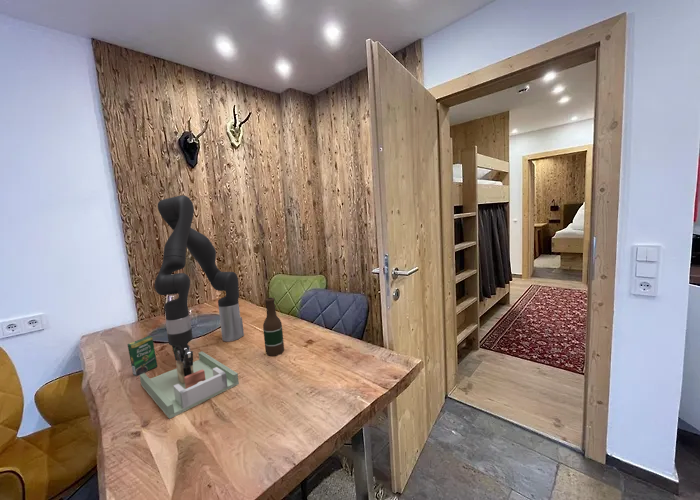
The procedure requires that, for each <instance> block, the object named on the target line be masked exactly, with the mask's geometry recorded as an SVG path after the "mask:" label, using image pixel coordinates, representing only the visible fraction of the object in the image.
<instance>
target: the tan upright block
mask: <svg viewBox="0 0 700 500" xmlns="http://www.w3.org/2000/svg"><path fill="white" fill-rule="evenodd" d="M187 363H188V362H187ZM175 364H176V368H177V374H178V380H179V381H180V382H181V383H182V384H183V383H185V388H186V389H187V388H189V387H191V386H193V385H196V384H197V383H198V382H200V381H204V380H205V372H204V370H203V369H202V370H199V371H197V372H195V373H194V372H193V365H192V366H191V373H192V374H190V375H187V376H185V377H184V370H183V365H182V362H180V360H179V361H176V360H175Z"/></svg>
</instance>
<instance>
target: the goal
mask: <svg viewBox="0 0 700 500" xmlns="http://www.w3.org/2000/svg"><path fill="white" fill-rule="evenodd" d="M226 387H228V386H227V378H226V373H225V372H224V371H222V370H221V369H219V368H217V367H216V368H213V377H211V378H209V379H207V380H204V381H202V382H200V383H198V384H196V385H193V386H191V387H189V388H187V389H184V388H183V387H182V386H181V385H179V384H176V385H174V386H173V388H174V394H175V400H176V401H177V402H178V404H179V405H180V406H181V407H182V408H183V409H184V408H186V407H188V406H190V405H192V404H194V403H196V402H198V401H200V400H202V399H204V398H206V397H208V396H210V395H212V394H214V393H216V392H218V391H220V390H222V389H224V388H226Z"/></svg>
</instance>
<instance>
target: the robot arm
mask: <svg viewBox="0 0 700 500" xmlns="http://www.w3.org/2000/svg"><path fill="white" fill-rule="evenodd" d="M194 207H195V206H194V204H193V201H192V200H191V198H190V197H188V196H187V195H184V194H183V195H176V196H172V197H169V198H164V199H160V200H159V201H158V203H157V209H158V213H159V215H160V216H161V217H162V219H163V220H164V222H165V223H166V224H167V226H169V227H170V228H171V229H172V232H171V234H170V235H169V237H168V238H167V240H166V242H165V244H164V247H163V254H162V255H163V256H162V264H161V267H160V268H159V271H158V273H157V276H156V277H155V280H154V290H155V292H156V293H157V294H158V295H160V296H168V295H169V296H170V295H176V294H177V295H178V297H177V298H175V299H172V300H169V301H166V303H164V306H163V307H164V315H165V328H166V334H167V342H168V345H169V346H171V349H172V352H173V354H174V355H173V356H174V360H175V362H176V361H179V360H180V362H182V365H183V370H184V377H185V376H187V375H190V374H192V373H191V366H192V365H193V362H194V351H193V350H191V348H190V347H191V346H190V345H189V343H190V342H191V341H192V340H193V339H194V336H193V329H192V322H191V317H190V314H189V313H190V312H189V306H188V301H189V300H188V299H189V292H190V286H191V278H190V277H189V275H188V274H186V273H184V272H180V273H175V272H177V271H180V270H182V269H184V268H185V267H186V257H187V250H188V251H189V253H190V254H191V256H192V257H193V258H194V260H195V261H196V262H197V263H198V265H199V266H200V268H201V269H202V271H203V272H204V274H205V276H206V278H207V280H208V281H209V283H210V285H211V286H212V288H213V289H214V290H215V291H217V292H225V296H223V297H220V298H219V299H218V301H217V304H218V305H217V306H218V311H219V312H218V314H219V321H220V322H219V323H220V331H221V339H222V341H223V342H234V341H237V340H239V339H241V338H242V337H244V336H245V332H244V324H243V323H244V322H243V317H242V316H241V314H240V313H241V311H240V305H239V304H240V303H239V302H240V301H239V298H240V291H239V278H238V274H237V273H236V272H234V271H221V270H220V269H219V268H218V266H217V265H216V260H217V259H216V257H217V250H216V248H215V246H214V245H213V244H212V241H211V240H210V238H208V237H207V236H206V235H205V234H203V233H202V232H199V231H198V230H195V229H194V228H192V224H193V218H194V214H195V208H194ZM187 362H188V363H187Z"/></svg>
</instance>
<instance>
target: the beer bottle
mask: <svg viewBox="0 0 700 500" xmlns="http://www.w3.org/2000/svg"><path fill="white" fill-rule="evenodd" d="M265 303H266V318H265V320H264V321H263V325H262V327H263V329H262V330H263V340H264V350H265V353H266V354H265V355H267V356H268V357H276V356H279V355H282V354H283V353H284V350H285V343H284V335H283V334H284V333H283V325H282V321H281V318H279V316H278V315H277V312H276V311H277V310H276V306H275V298H274V297H266V299H265Z"/></svg>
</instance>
